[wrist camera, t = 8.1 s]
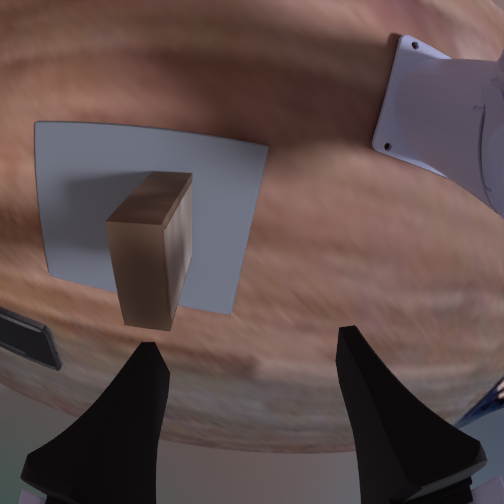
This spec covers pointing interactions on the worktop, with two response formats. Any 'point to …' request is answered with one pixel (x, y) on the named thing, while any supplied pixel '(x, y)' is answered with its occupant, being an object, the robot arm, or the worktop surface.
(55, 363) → the phone
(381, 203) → the worktop surface
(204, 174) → the rubber mat
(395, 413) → the robot arm
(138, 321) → the brown wooden block
